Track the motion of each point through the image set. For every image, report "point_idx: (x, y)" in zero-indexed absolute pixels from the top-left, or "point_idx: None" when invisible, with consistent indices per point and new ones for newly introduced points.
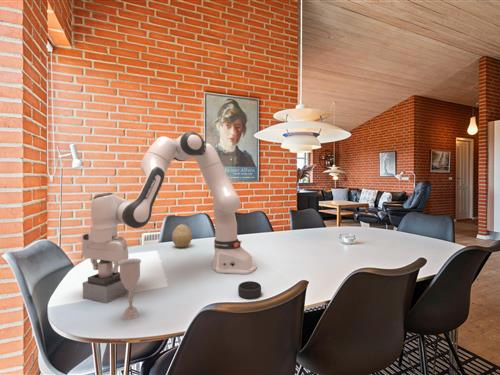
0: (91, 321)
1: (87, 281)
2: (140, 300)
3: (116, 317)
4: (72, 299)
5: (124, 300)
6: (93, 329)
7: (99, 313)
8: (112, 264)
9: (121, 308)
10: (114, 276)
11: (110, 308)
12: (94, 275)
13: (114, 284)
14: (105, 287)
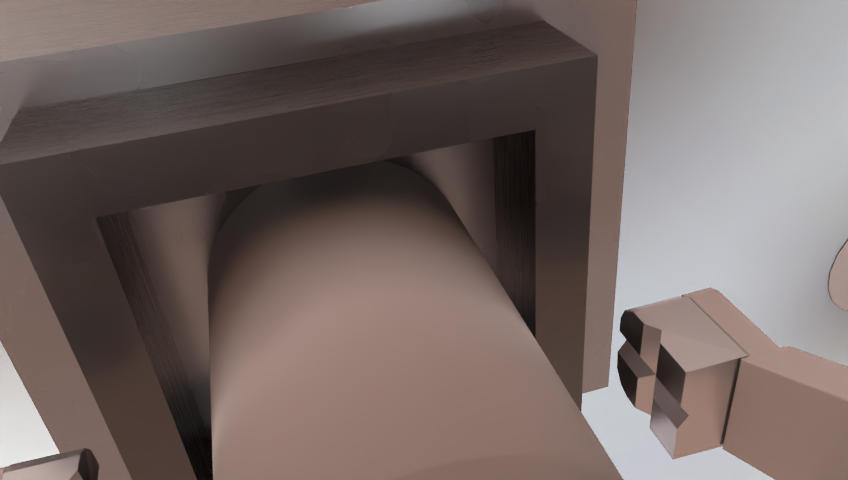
0: (658, 451)
1: (106, 471)
2: (826, 11)
3: (794, 332)
4: (38, 426)
5: (647, 112)
6: (746, 471)
7: (619, 379)
8: (568, 405)
9: (738, 235)
10: (583, 267)
11: (640, 290)
12: (171, 470)
13: (606, 257)
14: (584, 384)
